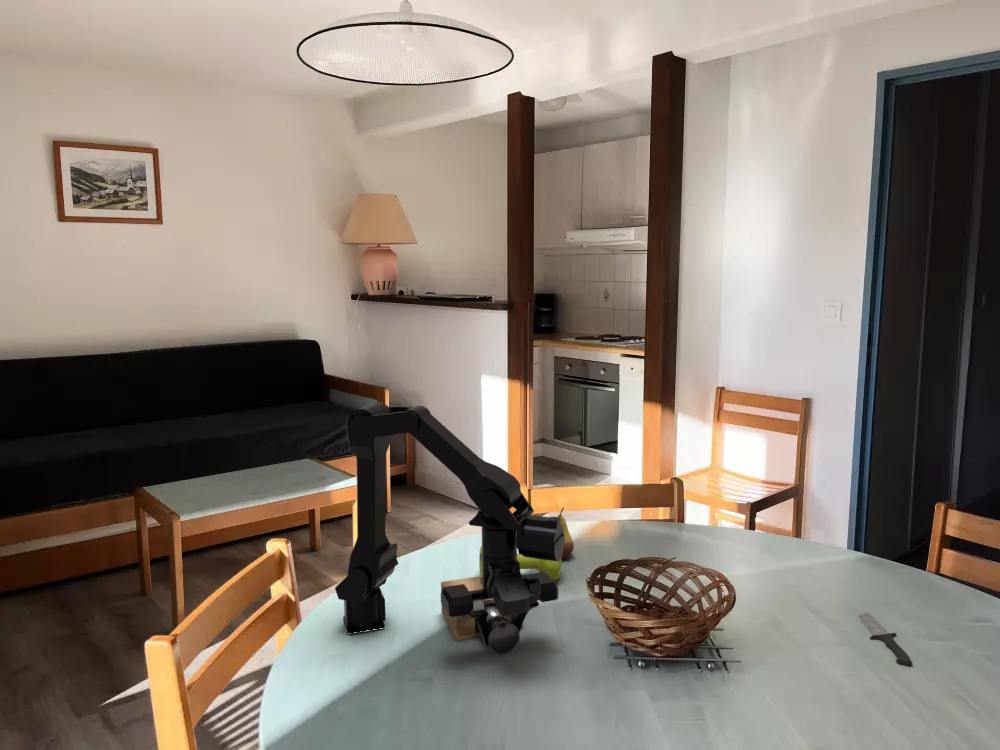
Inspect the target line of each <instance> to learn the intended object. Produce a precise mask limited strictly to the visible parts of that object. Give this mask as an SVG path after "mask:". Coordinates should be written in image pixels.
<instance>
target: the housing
mask: <svg viewBox="0 0 1000 750" xmlns="http://www.w3.org/2000/svg"><path fill="white" fill-rule="evenodd" d="M481 577H482V576H481V575H477V576H473V577H471V576H470V577H466V578H459V579H452V580H446V581H440V592H441V591H442V590H443V588H444V587H448V586H454V585H461V584H464V585H465V586H466V588H467V589H468V590H469V591H474V590H480V589H482V584H481ZM490 603H495V601H494V600H490V601H485V602H484V604H490ZM495 604H496V603H495ZM440 606H441V615H442V614H443V616H444V617H443V616H442V617H443V619H444V618H445V619H444V621H445V620H446V621H445V623H446V624H447V626H448V627H449V629H450V631H451V633H452V635H453V636H454V638H455V640H456V641H459V640H464V639H470V638H475V636H476V637H482V636H481V633H480V631H479V628H478V625H477V623H476V620H475V618H472V617H470V616H469V615H463V616H457V617H451V616H449V615H448V614H447V612H446V610H445V609H444V607H443V605H442V604H441V605H440ZM505 617H506V618H507V620H508V621H509V622H511V615H510V616H505ZM523 624H524V623H523ZM523 624H522V627H521V629H523Z"/></svg>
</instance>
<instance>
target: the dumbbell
mask: <svg viewBox="0 0 1000 750" xmlns="http://www.w3.org/2000/svg"><path fill="white" fill-rule="evenodd" d="M480 554H482V545H480V548H479V559H478V560H479V563H478V564H479V567H478V569H479V574H480V575H479V576H482V561H481V560H480ZM517 561H518V562H519V563H520V570H534V569H535V570H537V571H539V572H545V573H546V574H548V575H549V576H550V577H551V578H552V579H553V580H554V581H557V580H559V578H560V575H561V571H562V559H560V561H558V562H557V561H550V560H543V559H535V558H528V557H523V555H521V554H519V553H517Z"/></svg>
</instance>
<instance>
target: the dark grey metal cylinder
mask: <svg viewBox="0 0 1000 750" xmlns="http://www.w3.org/2000/svg"><path fill="white" fill-rule="evenodd" d="M484 608H485V609H486V611H487V612H488V616H487V626H488V646H489V647H490V648H491V650H492V651H493V652H494V653H497V654H502V655H503V654H507V653H509V652H512V651H513V650H514V649H515V648H516V646H517V645H518V644H519V641H520V632H519V631H518V629H517V627H516V626H515V625H514V624H513V623H511V622H509V621H508V620H507V618H506V617H505V616H502V615H501V614H500V613H499V611H498V608H497V605H496V604H495V603H490V604H484Z"/></svg>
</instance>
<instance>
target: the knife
mask: <svg viewBox="0 0 1000 750" xmlns="http://www.w3.org/2000/svg"><path fill="white" fill-rule="evenodd" d="M858 619H859V621H860V622H861V624H862V625H863V626H864V627H865V628H866V629H867V630H868V632H870V634H872V635H871V636H869V640H872V641H875V640H876V641H880V642H881V643H883V644H885V647H887V648H888V649H889V650H891V652H892V653H893V654H894V655H895V657H896V660H895V662H896V663H897V664H898V665H901V666H905V667H911V666H912V665H913V661H912V659H911V658H910V656H909V655H908V654H907V652H905V650H904V649H903V648H902V647H901V646H900V645H898V643H897V641H895V639H894V638H895V637H897V633H896V632H889V631H888V630H887V629H886V628H885V627H884V626H883V625H881V623H880V621H878V620H877V619H876V618H875V617H874V616H873V615H872V614H871V613H869V612H864V613H860V614H858Z"/></svg>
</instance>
